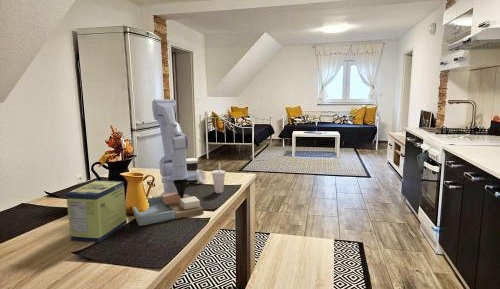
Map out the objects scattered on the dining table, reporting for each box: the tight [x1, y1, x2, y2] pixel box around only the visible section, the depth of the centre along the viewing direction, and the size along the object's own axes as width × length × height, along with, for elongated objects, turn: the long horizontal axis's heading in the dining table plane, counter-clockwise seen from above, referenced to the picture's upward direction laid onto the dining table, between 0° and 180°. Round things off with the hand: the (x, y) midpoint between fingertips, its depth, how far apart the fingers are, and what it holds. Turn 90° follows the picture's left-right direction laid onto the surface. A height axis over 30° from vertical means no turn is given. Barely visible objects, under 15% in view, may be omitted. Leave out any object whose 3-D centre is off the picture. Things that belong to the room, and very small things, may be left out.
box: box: [133, 195, 176, 227], centre depth 121 cm, size 20×13×3 cm, turn 28°
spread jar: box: [186, 157, 207, 184], centre depth 164 cm, size 12×11×12 cm
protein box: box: [65, 179, 128, 243], centre depth 104 cm, size 10×16×16 cm
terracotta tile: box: [161, 192, 180, 205], centre depth 128 cm, size 6×6×2 cm
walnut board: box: [166, 193, 204, 220], centre depth 126 cm, size 20×10×2 cm, turn 28°
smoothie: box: [211, 162, 226, 194], centre depth 145 cm, size 6×6×14 cm
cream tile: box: [180, 196, 201, 209], centre depth 123 cm, size 6×6×2 cm
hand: (181, 197), depth 130 cm, fingers closed
